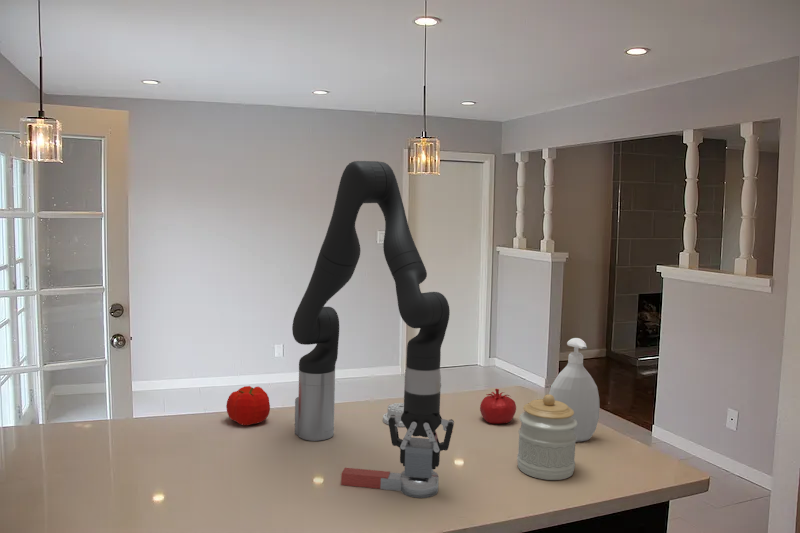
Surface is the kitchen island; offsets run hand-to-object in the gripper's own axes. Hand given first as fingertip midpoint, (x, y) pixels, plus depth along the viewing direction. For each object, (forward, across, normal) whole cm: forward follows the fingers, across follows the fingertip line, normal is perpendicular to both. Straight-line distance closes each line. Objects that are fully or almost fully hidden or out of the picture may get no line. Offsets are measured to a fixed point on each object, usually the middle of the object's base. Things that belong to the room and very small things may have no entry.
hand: (419, 466), depth 132 cm
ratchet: (+5, -6, 0) cm, 8 cm away
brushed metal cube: (+1, 0, 0) cm, 1 cm away
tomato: (+5, -50, +31) cm, 59 cm away
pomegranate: (+5, +16, +48) cm, 51 cm away
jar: (+5, +27, +17) cm, 32 cm away
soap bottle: (+5, +36, +37) cm, 52 cm away
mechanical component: (+6, -10, +42) cm, 43 cm away
